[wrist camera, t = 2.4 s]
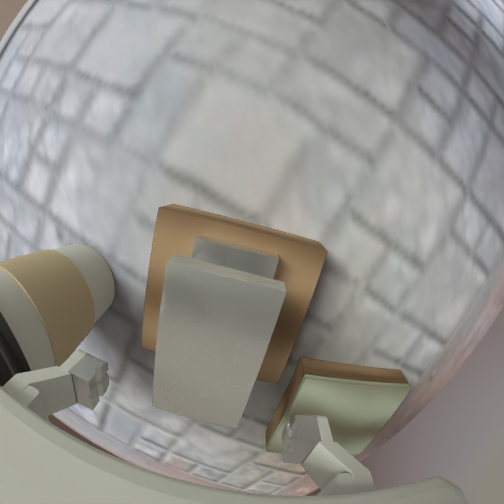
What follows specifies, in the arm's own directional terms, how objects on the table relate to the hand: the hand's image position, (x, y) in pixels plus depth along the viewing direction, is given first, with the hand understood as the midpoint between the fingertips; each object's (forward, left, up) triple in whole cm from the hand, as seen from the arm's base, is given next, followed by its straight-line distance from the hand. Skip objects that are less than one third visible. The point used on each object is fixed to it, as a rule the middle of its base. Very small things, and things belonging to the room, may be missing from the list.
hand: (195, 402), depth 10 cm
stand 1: (-1, 0, -12) cm, 12 cm away
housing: (-1, 0, -9) cm, 9 cm away
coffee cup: (+2, -13, -12) cm, 18 cm away
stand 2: (+9, +13, -12) cm, 20 cm away
